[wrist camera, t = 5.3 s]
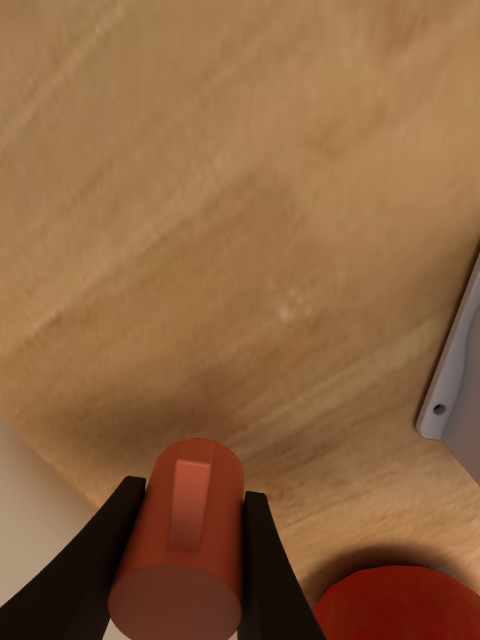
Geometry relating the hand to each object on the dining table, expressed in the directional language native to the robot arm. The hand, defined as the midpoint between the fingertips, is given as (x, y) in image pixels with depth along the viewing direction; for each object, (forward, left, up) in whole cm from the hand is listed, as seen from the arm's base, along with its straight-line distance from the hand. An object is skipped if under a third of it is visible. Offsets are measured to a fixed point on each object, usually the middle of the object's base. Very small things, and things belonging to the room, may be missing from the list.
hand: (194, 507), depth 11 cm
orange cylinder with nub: (+1, 0, -1) cm, 2 cm away
